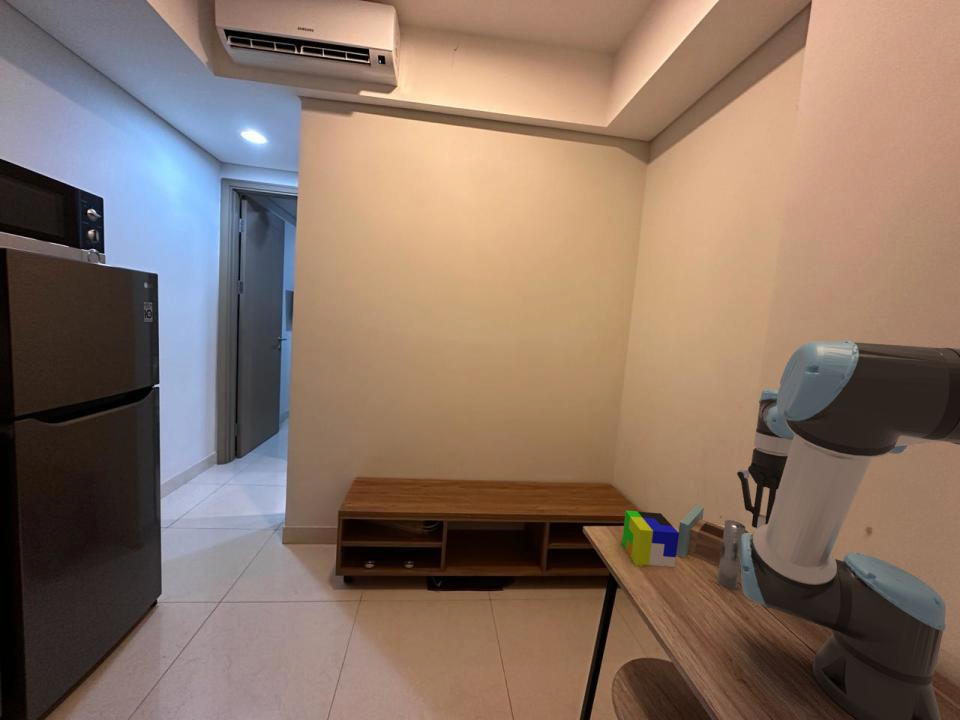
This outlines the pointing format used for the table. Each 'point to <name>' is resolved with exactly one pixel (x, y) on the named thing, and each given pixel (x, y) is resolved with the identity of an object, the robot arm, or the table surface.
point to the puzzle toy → (650, 539)
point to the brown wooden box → (706, 541)
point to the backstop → (687, 529)
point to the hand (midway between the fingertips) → (759, 541)
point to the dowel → (730, 555)
